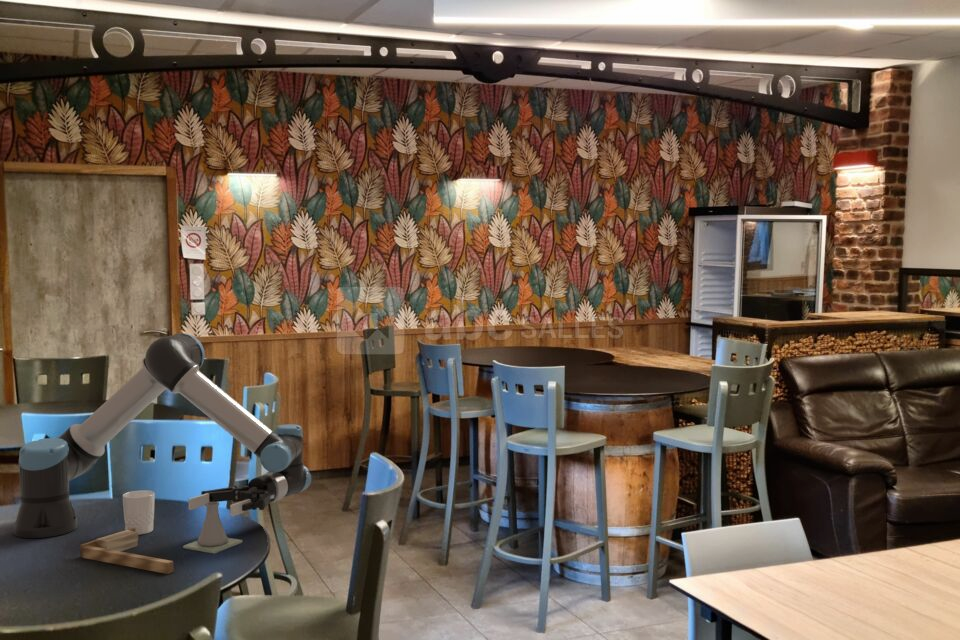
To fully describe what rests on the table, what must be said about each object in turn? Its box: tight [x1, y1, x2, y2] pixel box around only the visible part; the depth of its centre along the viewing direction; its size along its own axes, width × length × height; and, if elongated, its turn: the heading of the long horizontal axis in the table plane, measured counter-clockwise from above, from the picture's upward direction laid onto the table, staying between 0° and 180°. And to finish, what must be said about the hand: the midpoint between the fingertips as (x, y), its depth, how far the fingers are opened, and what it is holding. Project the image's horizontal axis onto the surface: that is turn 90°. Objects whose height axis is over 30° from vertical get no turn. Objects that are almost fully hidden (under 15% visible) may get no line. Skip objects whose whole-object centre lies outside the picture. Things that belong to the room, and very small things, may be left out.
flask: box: [196, 502, 229, 546], centre depth 227 cm, size 7×7×10 cm
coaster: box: [182, 537, 243, 554], centre depth 228 cm, size 10×10×1 cm
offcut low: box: [110, 539, 139, 552], centre depth 224 cm, size 4×9×2 cm, turn 154°
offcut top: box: [95, 529, 139, 549], centre depth 224 cm, size 4×9×2 cm, turn 150°
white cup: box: [122, 489, 156, 536], centre depth 240 cm, size 8×8×10 cm
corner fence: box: [79, 528, 174, 575], centre depth 219 cm, size 28×16×3 cm, turn 64°
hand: (210, 507), depth 226 cm, fingers open, 13 cm apart
